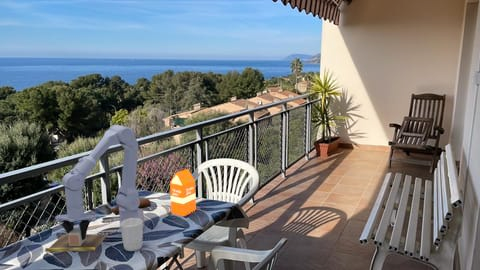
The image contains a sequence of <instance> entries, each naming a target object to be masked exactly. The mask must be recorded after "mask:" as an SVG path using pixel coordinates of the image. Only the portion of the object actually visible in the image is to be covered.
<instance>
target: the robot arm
mask: <svg viewBox="0 0 480 270" xmlns="http://www.w3.org/2000/svg"><path fill="white" fill-rule="evenodd" d="M117 145H120V146H121V147H123V163H122V175H121V186H120V187H119V188H118V189H117V190H118V191H117V193H116V196H115V203H116V205H117V206H119V214H118V215H119V228H118V229H117V233H122V231H121V222H122V221H124V220H126V219H130V218H139V219H142V221H143V228H144V227H145V225H146V224H145V216H144V215H145V214H144V209H143V208H138V207H139V204H140V200H139V199H140V198H139V190H138V189H137V187H136V180H137V168H138V156H139V155H138V153H139V143H138V140H137V137H136V132H135V131H134V129H132V128H131V127H129V126H124V125H119V124H113V125H111V126H110V127H109V128H108V129H107V130H106V131H105V132H104V135H103V136H102V137H101V139H100V140H99V142H97V144H96V145H95V147H94V148H93V149H92V151H91V152H90V153H89V154H88V155H85V156H83V157H80V158H78V163H76V165H75V166H74V167H73V168H72V169H70V170H69V172H68V173H66V174H65V175H63V176H62V180H61V185H62V186H63V187H64V190H65V192H64V193H65V194H64V195H65V203H66V204H65V205H66V214H58V215H56V216H55V217H54V219H55V223H58V222H62V224H61V226H62V228H63V229H64V230H65V232H66V234H68V233H69V232H70V231H71V230H73V229H74V228H75V226H74V225H75V222H80V223H78V227H80V230H81V237H82V240H84V239H85V238H86V234H87V232H88V228H89V225H90V222H93V223H94V222H96V221H97V220H98V219H97V214H90V213H85V210H84V209H85V208H84V197H83V196H84V195H83V187H84V185H85V180H86V179H87V177H88V176H89V175H90V174H91V173H92V171H93V170H94V169H95V168H96V167H97V162H98V161H97V160H99V159H100V158H101V156H103V155H104V153H105V152H107V150H109V148H110V147H112V146H117Z"/></svg>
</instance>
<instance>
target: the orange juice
mask: <svg viewBox="0 0 480 270" xmlns="http://www.w3.org/2000/svg"><path fill="white" fill-rule="evenodd" d="M169 183H170V184H169V185H170V187H169V188H170V209H171V211H170V212H171V214H173V215H177V216H180V217H185V216H187V215H190V214H192V213H194V212H195V210H197V207H196V204H197V203H196V198H197V197H196V181H195V179H194V177H193V175H192V173H191V171H190V170H189V168H187V169H186V168H185V169H183V170H180V171H178V172H175V174H174V176H173V177H172V179H171V180H170V182H169ZM193 211H194V212H193ZM191 212H192V213H191Z"/></svg>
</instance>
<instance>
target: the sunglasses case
mask: <svg viewBox="0 0 480 270" xmlns="http://www.w3.org/2000/svg"><path fill="white" fill-rule="evenodd" d="M139 200H140V204H139V207H138V208H139V209H141V208H144V207H147V206H148V207H149V206H150V207H151V205H152V203H151V201H150V199H148V198H139ZM109 211H110V212H111V213H112V214H114V215H115V216H116V215H119V205H117V206H115V207H112V208H111V209H110V210H109Z"/></svg>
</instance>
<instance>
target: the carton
mask: <svg viewBox="0 0 480 270" xmlns="http://www.w3.org/2000/svg"><path fill="white" fill-rule="evenodd" d="M67 235H68V236H69V246H81V245H82V244H83V242H84V241H85V240H86V239H87V236H86V238H85V239H84V240H82V237H81V230H80V226H74V229H73V230H71V231H70V232H69V233H67Z"/></svg>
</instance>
